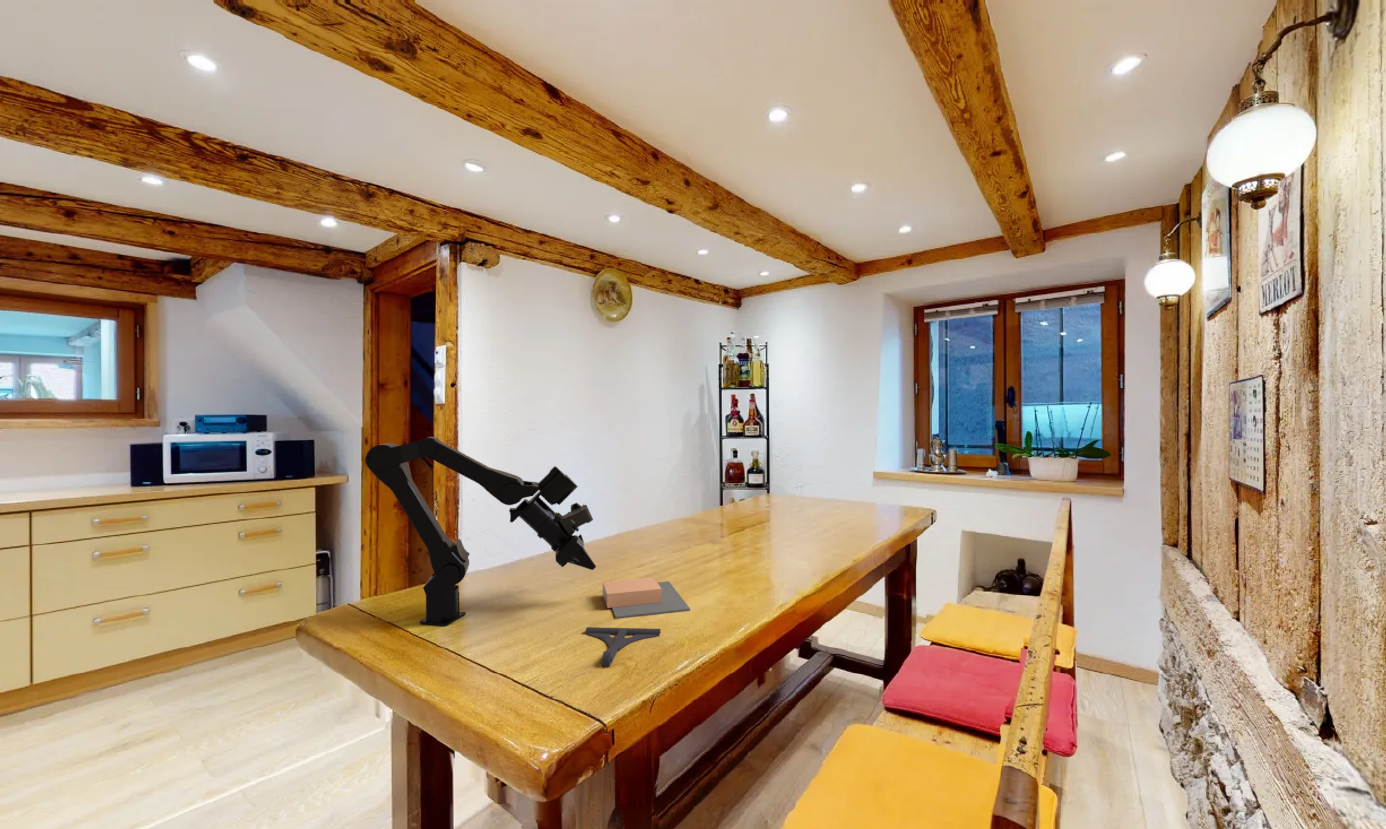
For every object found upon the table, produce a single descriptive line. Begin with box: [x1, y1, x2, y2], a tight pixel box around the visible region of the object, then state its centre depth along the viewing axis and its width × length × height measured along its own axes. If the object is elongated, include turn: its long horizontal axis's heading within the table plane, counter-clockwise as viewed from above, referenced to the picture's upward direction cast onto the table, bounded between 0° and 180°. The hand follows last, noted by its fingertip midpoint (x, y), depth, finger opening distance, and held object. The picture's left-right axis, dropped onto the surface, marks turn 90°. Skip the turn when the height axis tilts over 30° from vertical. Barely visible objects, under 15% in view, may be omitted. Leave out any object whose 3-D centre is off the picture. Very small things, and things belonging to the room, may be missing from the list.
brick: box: [602, 577, 662, 609], centre depth 126 cm, size 3×9×12 cm
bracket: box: [585, 626, 661, 668], centre depth 101 cm, size 14×15×3 cm
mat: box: [611, 580, 691, 619], centre depth 127 cm, size 16×20×1 cm
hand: (594, 568), depth 123 cm, fingers closed
